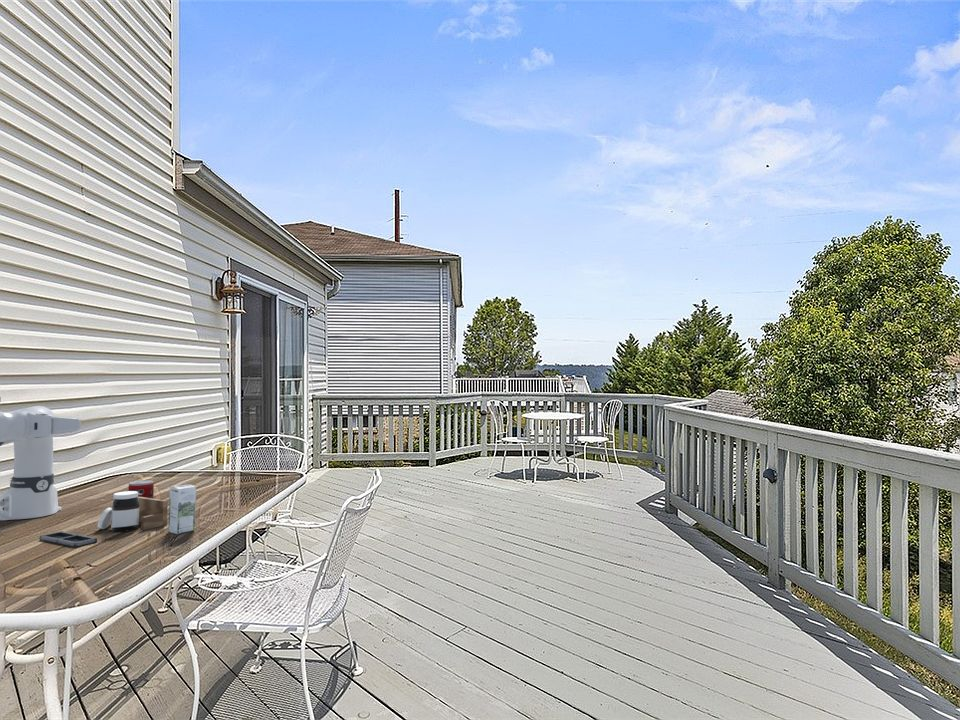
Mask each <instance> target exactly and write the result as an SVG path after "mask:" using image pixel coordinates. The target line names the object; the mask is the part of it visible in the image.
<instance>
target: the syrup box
mask: <svg viewBox="0 0 960 720" xmlns="http://www.w3.org/2000/svg"><path fill="white" fill-rule="evenodd" d="M196 499H197V487H196V486H195V485H193V484H183V485H175V486H171V487H169V501H168V502H169V505H168V526H167V527H168V533H172V534H173V535H174V534H175V535H181V534H185V533H190V532H194V531H195V528H196V527H195V525H196V522H195V521H196V502H197V500H196Z"/></svg>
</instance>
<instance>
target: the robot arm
mask: <svg viewBox="0 0 960 720" xmlns="http://www.w3.org/2000/svg"><path fill="white" fill-rule="evenodd" d="M1 400H2V399H1V396H0V401H1ZM81 424H82V420H81V419H80V418H78V417H76V418H75V417H65V416H64V417H61V416H56V415H55V413H54V412H53V411H52V410H51V409H50V408H48V407H47V406H44V405H43V406H42V405H35V406H34V405H33V406H28V407H24V408H20V409H16V410H11V411H7V412H5V411H0V447H2V446H5V445H9V444H12V443H13V453H14V454H13V458H14V459H13V476H12V477H10V479H11V480H9V481H10V483H9V488H8V489H7V490H6V491H5V492H4V493H3V494H2V495H1V496H0V521H9V520H10V521H12V520H25V519H35V518H41V517H46V516H50V515H51V516H52V515H54V514H56V513H57V512H59V511H61V510H62V506H59V501H58V489H57V487H56V486H54V483H55V474H54V473H53V471H54V470H53V468H54V435H57V434H58V435H59V434H64V433H65V434H66V433H67V434H68V433H72V432H77V431H80V430H81V426H82V425H81Z"/></svg>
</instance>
